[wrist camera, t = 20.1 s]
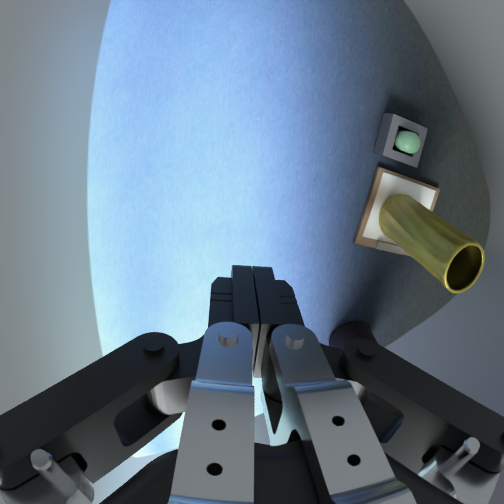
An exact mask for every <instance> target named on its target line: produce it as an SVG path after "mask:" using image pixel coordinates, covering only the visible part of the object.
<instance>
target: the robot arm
mask: <svg viewBox="0 0 504 504" xmlns="http://www.w3.org/2000/svg"><path fill="white" fill-rule="evenodd" d="M252 370H253V377H255V378H262V389H261V401H262V405H263V410H264V415H265V419H266V424H267V428H268V433H269V437H270V445H265V444H260V443H255V442H254V386H252ZM371 392H373V393H375V394H376V395H378V396H379V397H381V398H382V399H384V400H385V401H387V402H389V403H390V404H392V405H393V406H395V407H397V408H398V409H399V410H401V411H402V413H403V415H404V418H399V417H397V416H395V415H393V414H392V413H390V412H389V411H387V410H386V409H384V408H382V407H381V406H379V405H378V404H376V403H375V402H373V401H372V400H370V399H369V398H368V397H369V395H370V393H371ZM183 412H185V417H184V422H183V428H182V433H181V438H180V444H179V449H176V450H173V451H170V452H168V453H165V454H163V455H161V456H159V457H157V458H156V459H154V460H153V461H151V462H150V463H148V464H147V465H146V466H145V467H144V468H142V469H141V470H140V471H139V472H138V473H136V474H135V475H134V476H133V477H132V478H130V479H129V480H128V481H127V482H126V483H124V484H123V485H122V486H121V487H119V488H118V489H117V490H116V491H115V492H113V493H112V494H111V495H110V496H108V497H107V498H106V499H104V500H103V501H102V502H101V503H99V504H488V503H489V500H490V498H491V495H492V493H493V490H494V488H495V485H496V482H497V479H498V477H499V474H500V472H501V471H502V470H503V469H504V417H503V416H501V415H499V414H498V413H496V412H494V411H492V410H490V409H489V408H487V407H485V406H483V405H482V404H480V403H478V402H476V401H474V400H473V399H471V398H469V397H468V396H466V395H464V394H463V393H461V392H459V391H457V390H456V389H454V388H452V387H450V386H449V385H447V384H445V383H444V382H442V381H440V380H438V379H437V378H435V377H433V376H431V375H430V374H428V373H426V372H425V371H423V370H421V369H420V368H418V367H416V366H414V365H413V364H411V363H409V362H408V361H406V360H404V359H403V358H401V357H399V356H397V355H396V354H394V353H392V352H391V351H389V350H387V349H386V348H384V347H382V346H381V345H379V344H377V343H375V342H373V341H371V340H368V339H361V338H358V339H352V340H350V341H348V342H347V343H346V344H345V346H344V349H341V348H336V347H331V346H327V345H324V344H321V343H319V341H318V339H317V337H316V335H315V334H314V333H313V332H312V331H311V330H310V329H308V328H306V327H305V325H304V322H303V319H302V316H301V313H300V310H299V307H298V305H297V300H296V298H295V294H294V291H293V288H292V287H291V286H290V285H289V284H288V283H287V282H286V281H285V280H275V278H274V274H273V270H272V267H260V266H252V267H251V266H241V265H232V271H231V278H227V277H217V278H216V280H215V281H214V282H213V283H212V285H211V297H210V309H209V322H208V329H207V330H206V331H205V334H204V335H203V336H202V337H201V338H199V339H197V340H195V341H192V342H188V343H183V344H178V343H177V341H176V340H175V339H174V338H173V337H171V336H169V335H167V334H164V333H159V332H150V333H145V334H142V335H140V336H138V337H136V338H134V339H133V340H131V341H129V342H128V343H126V344H124V345H122V346H121V347H119V348H117V349H116V350H114V351H112V352H110V353H109V354H107V355H105V356H104V357H102V358H100V359H99V360H97V361H95V362H93V363H92V364H90V365H88V366H86V367H85V368H83V369H81V370H79V371H78V372H76V373H74V374H72V375H71V376H69V377H67V378H66V379H64V380H62V381H60V382H59V383H57V384H55V385H53V386H52V387H50V388H48V389H46V390H45V391H43V392H41V393H39V394H38V395H36V396H34V397H32V398H30V399H29V400H27V401H25V402H23V403H22V404H20V405H18V406H16V407H15V408H13V409H11V410H9V411H7V412H5V413H4V414H2V415H0V494H1V496H2V497H3V499H4V501H5V503H6V504H91V503H92V502H93V499H94V488H93V485H92V484H93V483H95V482H96V481H97V480H99V479H100V478H102V477H103V476H104V475H106V474H107V473H109V472H110V471H111V470H113V469H114V468H116V467H117V466H118V465H120V464H121V463H122V462H124V461H125V460H126V459H128V458H129V457H130V456H132V455H133V454H134V453H136V452H137V451H138V450H140V449H141V448H142V447H144V446H145V445H146V444H147V443H149V442H150V441H151V440H153V439H154V438H155V437H156V436H158V435H159V434H160V433H161V432H163V431H164V430H165V429H166V428H168V427H169V426H170V425H171V424H173V423H174V422H175V421H176V420H177V419H179V418H180V416H181V415H182V413H183Z"/></svg>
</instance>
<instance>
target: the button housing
mask: <svg viewBox="0 0 504 504" xmlns="http://www.w3.org/2000/svg"><path fill="white" fill-rule="evenodd" d="M398 127H399V128H401V129H403V130H406V131H408V132H413V133H415V134H417V135H418V137H419V139H420V147H419V149H418V151H417V152H415V153H408V152H404V151H403V154H402V153H400V152H397V151H395V150H392V149H393V145H394V141H395V137H396V134H397V130H398ZM427 130H428V129H427V128H425V127H423V126H420V125H418V124H416V123H414V122H412V121H409V120H407V119H405V118H402V117H400V116H398V115H395V114H391V113H384V114H383V118H382V122H381V125H380V129H379V133H378V137H377V141H376V144H375V148H374V153H377V154H380V155H383V156H386V157H389V158H392V159H394V160H397V161H400V162H402V163H405V164H408V165H410V166H413V167H416V168H417V167H418V163H419V160H420V156H421V152H422V149H423V145H424V141H425V137H426V134H427Z"/></svg>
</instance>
